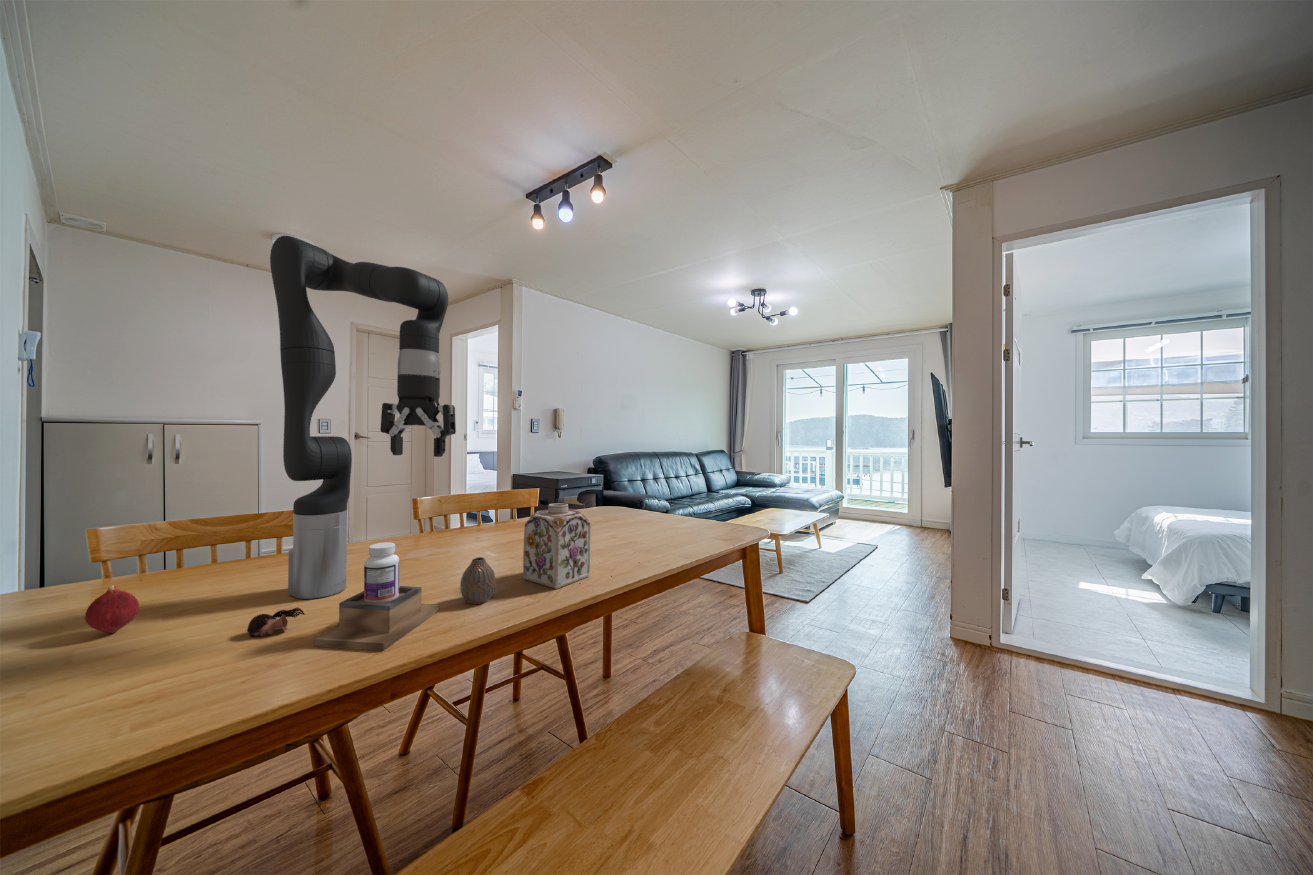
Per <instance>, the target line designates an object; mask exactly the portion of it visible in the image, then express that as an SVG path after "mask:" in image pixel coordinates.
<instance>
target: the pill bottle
mask: <svg viewBox="0 0 1313 875" xmlns="http://www.w3.org/2000/svg"><path fill="white" fill-rule="evenodd" d="M395 552H396V544H395V543H394V542H390V541H386V542H377V543H373V544H371V545H369V546H368V555H369V557H368V558H366V559H365V561H364V564H363V565H364V566H363V571H364V572H363V582H364V584H363V591H364V601H365V602H374V603H386V602H390V601H392V600H394V599H396V598H397V597H398V596H399V586H400V558H399V556H398V555H397V554H394V553H395Z"/></svg>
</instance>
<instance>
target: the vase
mask: <svg viewBox="0 0 1313 875" xmlns="http://www.w3.org/2000/svg"><path fill="white" fill-rule="evenodd" d="M496 585H497V577H496V574H495V572H494V569H493V568H492V567H491V566H490V565H489V563H488V561H487V560H486V558H485V557H480V556H479V557H474V558H473V559H472V560H471V562H470V563H469V565H468V566H467V568H466V569H465V570H464V572H462V576H461V578H460V583H459V586H460V587H459V589H460V593H461V596H462V598H463V600H465V601H466V602H467V603H468V604H471V605H480V604H484V603H486V602H488V601H489V600H490V599H491V598H492V597H493V595H494V594H495V590H496Z"/></svg>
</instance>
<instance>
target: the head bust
mask: <svg viewBox="0 0 1313 875" xmlns="http://www.w3.org/2000/svg"><path fill="white" fill-rule="evenodd" d="M300 615H303V616H305V615H306V613H305V612H304V610H303V609H302V608H300V607H299V606H298V607H294V608H292V609H281V610H279V611H276V612H275V613H274V614H272V615H270V614H269V613H267V614H266V613H261V614H257V615H255V616H254V617H253V618H251V620H250V621H249V623H248V625H247V629H246V631H247V633H248V635H249V636H250V637H252V638H254V637H259V636H261V637H263V636H269V635H272V634H273V633H274V631H276V630H278V629H282V630H283V632H284V633H285V632H286V630H287V628H288V622H289V621H288V619H287V618H297V617H298V616H300Z"/></svg>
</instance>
